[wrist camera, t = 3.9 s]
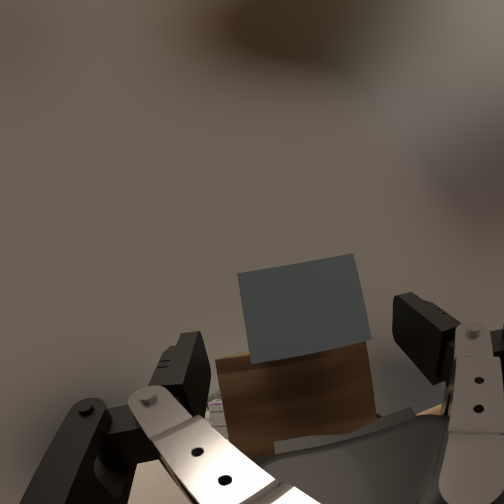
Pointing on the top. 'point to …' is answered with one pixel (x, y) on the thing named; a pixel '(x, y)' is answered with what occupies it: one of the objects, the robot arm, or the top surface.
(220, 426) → the white carton
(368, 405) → the walnut stand
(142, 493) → the top surface
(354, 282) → the batten
